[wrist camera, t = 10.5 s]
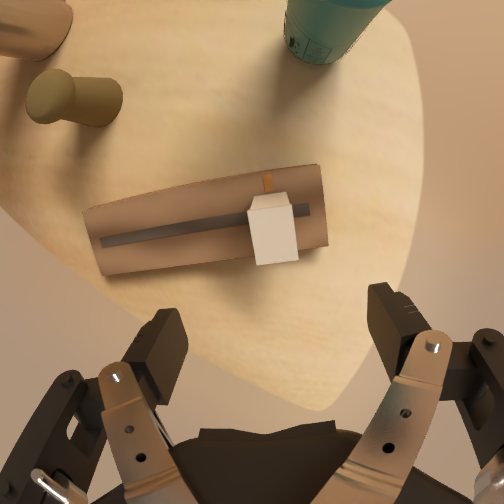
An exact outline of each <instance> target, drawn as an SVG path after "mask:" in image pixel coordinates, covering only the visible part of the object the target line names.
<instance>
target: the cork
mask: <svg viewBox="0 0 504 504" xmlns="http://www.w3.org/2000/svg"><path fill="white" fill-rule="evenodd" d="M122 101H123V92H122V90H121V87H120V85H119V84H118V83H117V81H115V80H113V79H111V78H94V77H71V75H70V74H68V73H67V72H65V71H63V70H60V69H51V70H47V71H45V72H43V73H41V74H40V75H39V76H37V77H36V78H35V79H34V81H33V82H32V84H31V85H30V87H29V90H28V92H27V96H26V110H27V113H28V115H29V116H30V118H31V119H32V120H33V121H35V122H36V123H39V124H50V123H53V122H56V121H58V120H60V119H63V120H67V121H72V122H76V123H80V124H84V125H89V126H93V127H102V126H105V125H107V124H109V123H110V122H112V120H113V119H114V118H115V117H116V116H117V114H118V113H119V111H120V109H121V105H122Z"/></svg>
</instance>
